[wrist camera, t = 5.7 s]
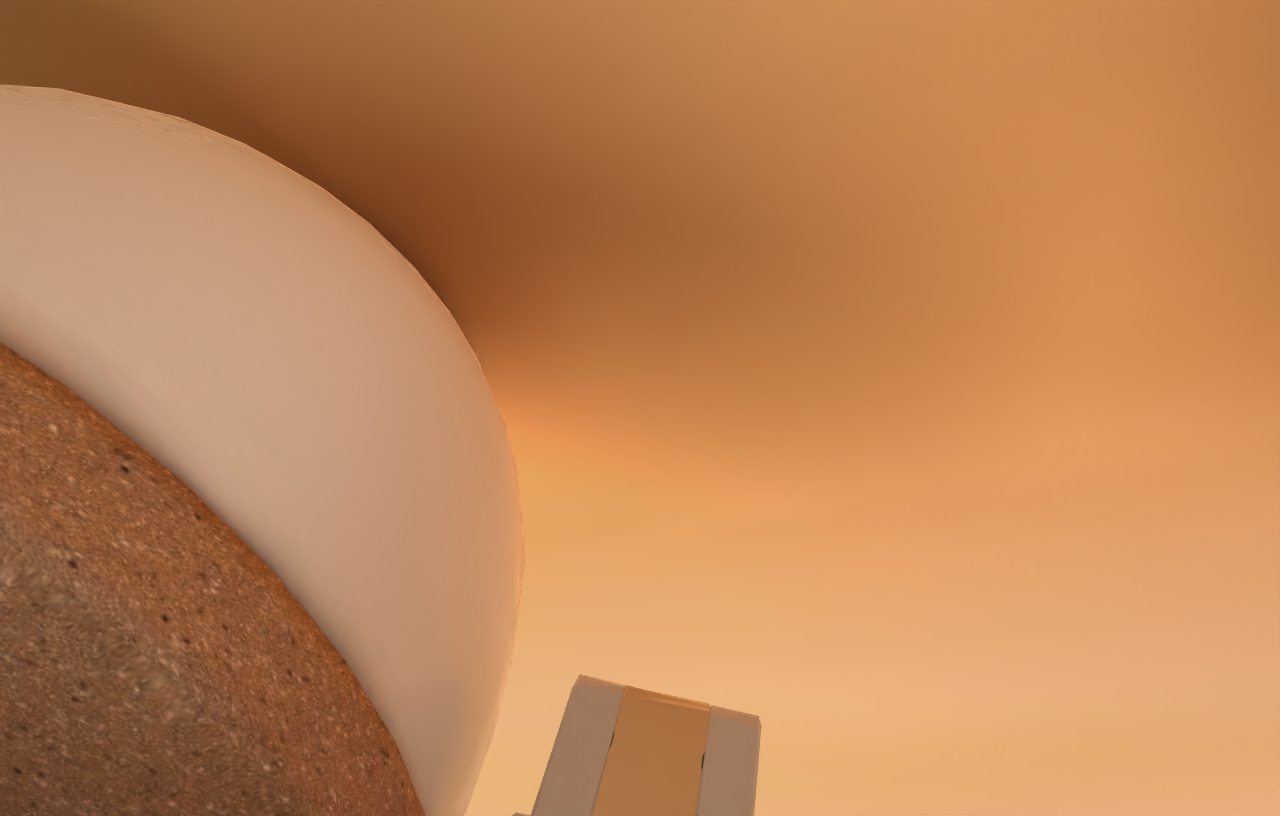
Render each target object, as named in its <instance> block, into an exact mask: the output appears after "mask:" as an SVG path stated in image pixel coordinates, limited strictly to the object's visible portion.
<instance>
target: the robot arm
mask: <svg viewBox="0 0 1280 816" xmlns="http://www.w3.org/2000/svg"><path fill="white" fill-rule="evenodd" d="M760 735H761V723H760V720H759V716H755V715H751V714H746V713H742V712H738V711H733V710H729V709H725V708H720V707H716V706H711V707H710V704H707V703H703V702H698V701H693V700H689V699H684V698H680V697H675V696H670V695H666V694H661V693H656V692H652V691H647V690H643V689H639V688H635V687H631V686H626V685H622V684H618V683H614V682H609V681H605V680H601V679H597V678H593V677H589V676H585V675H581V674H580V675H579V677H578V679H577V680H576V682H575V684H574V686H573V688H572V691H571V694H570V697H569V700H568V703H567V706H566V709H565V712H564V715H563V718H562V721H561V724H560V727H559V731H558V734H557V737H556V740H555V743H554V746H553V749H552V752H551V755H550V758H549V761H548V764H547V767H546V770H545V774H544V777H543V780H542V783H541V786H540V789H539V792H538V795H537V798H536V801H535V804H534V807H533V810H532V813H531V815H526V814H522V813H517V812H516V813H515V814H514V815H512V816H754V809H755V797H756V784H757V772H758V760H759V748H760Z"/></svg>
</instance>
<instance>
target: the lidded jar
mask: <svg viewBox="0 0 1280 816" xmlns="http://www.w3.org/2000/svg"><path fill="white" fill-rule="evenodd" d="M524 563H525V557H524V543H523V529H522V515H521V503H520V491H519V480H518V472H517V468H516V464H515V460H514V456H513V452H512V448H511V444H510V440H509V436H508V432H507V428H506V424H505V422H504V419H503V417H502V414H501V412H500V410H499V407H498V405H497V402H496V400H495V398H494V395H493V393H492V391H491V388H490V386H489V384H488V381H487V379H486V377H485V374H484V372H483V370H482V367H481V365H480V362H479V360H478V358H477V356H476V354H475V352H474V351H473V349H472V347H471V346H470V344H469V342H468V341H467V339H466V338H465V336H464V334H463V333H462V331H461V329H460V328H459V326H458V324H457V323H456V321H455V319H454V318H453V316H452V314H451V313H450V311H449V310H448V308H447V307H446V306H445V305H444V303H443V302H442V301H441V300H440V298H439V297H438V296H437V295H436V293H435V292H434V291H433V290H432V288H431V287H430V286H429V285H428V283H427V282H426V281H425V280H424V278H423V277H422V276H421V275H420V273H419V272H418V271H417V270H416V268H415V267H414V266H413V265H412V264H411V263H410V262H409V261H408V260H407V259H406V258H405V257H404V256H403V255H402V254H401V253H400V252H399V251H398V250H397V249H396V248H395V247H394V246H393V245H392V244H391V243H390V242H389V241H388V240H387V239H386V238H385V237H383V236H382V235H381V234H380V233H379V232H378V231H377V230H376V229H375V228H374V227H373V226H372V225H371V224H370V223H369V222H367V221H366V220H365V219H363V218H362V217H361V216H359V215H358V214H357V213H355V212H354V211H353V210H352V209H350V208H349V207H348V206H346V205H345V204H344V203H342V202H341V201H340V200H338V199H337V198H336V197H334V196H333V195H332V194H330V193H329V192H328V191H326V190H325V189H324V188H322V187H321V186H319V185H317V184H316V183H314V182H312V181H310V180H309V179H307V178H305V177H303V176H302V175H300V174H298V173H297V172H295V171H293V170H291V169H290V168H288V167H286V166H284V165H283V164H281V163H279V162H277V161H276V160H274V159H272V158H270V157H269V156H267V155H265V154H263V153H261V152H259V151H257V150H256V149H254V148H252V147H250V146H248V145H246V144H244V143H242V142H240V141H237V140H235V139H233V138H230V137H228V136H225V135H223V134H220V133H218V132H215V131H213V130H210V129H208V128H205V127H203V126H201V125H198V124H196V123H193V122H191V121H188V120H186V119H183V118H181V117H177V116H173V115H169V114H165V113H161V112H157V111H153V110H148V109H144V108H140V107H136V106H132V105H128V104H124V103H120V102H116V101H111V100H107V99H103V98H98V97H94V96H90V95H86V94H81V93H77V92H73V91H68V90H64V89H60V88H47V87H33V86H18V85H3V84H0V816H464V814H465V812H466V809H467V806H468V804H469V801H470V798H471V795H472V793H473V790H474V787H475V784H476V781H477V779H478V776H479V773H480V770H481V767H482V765H483V762H484V759H485V756H486V754H487V751H488V748H489V745H490V742H491V740H492V737H493V734H494V730H495V726H496V722H497V718H498V714H499V710H500V706H501V702H502V698H503V694H504V690H505V687H506V683H507V679H508V675H509V671H510V667H511V662H512V654H513V647H514V639H515V632H516V625H517V617H518V609H519V602H520V594H521V586H522V578H523V571H524Z"/></svg>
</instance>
